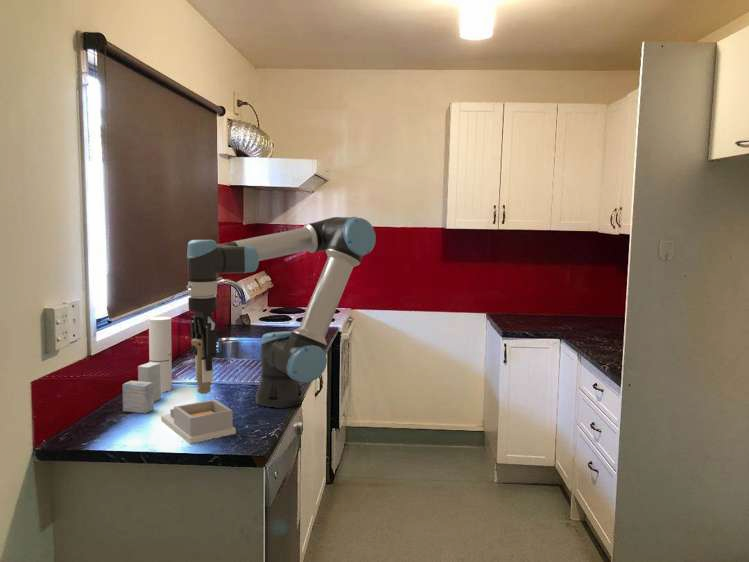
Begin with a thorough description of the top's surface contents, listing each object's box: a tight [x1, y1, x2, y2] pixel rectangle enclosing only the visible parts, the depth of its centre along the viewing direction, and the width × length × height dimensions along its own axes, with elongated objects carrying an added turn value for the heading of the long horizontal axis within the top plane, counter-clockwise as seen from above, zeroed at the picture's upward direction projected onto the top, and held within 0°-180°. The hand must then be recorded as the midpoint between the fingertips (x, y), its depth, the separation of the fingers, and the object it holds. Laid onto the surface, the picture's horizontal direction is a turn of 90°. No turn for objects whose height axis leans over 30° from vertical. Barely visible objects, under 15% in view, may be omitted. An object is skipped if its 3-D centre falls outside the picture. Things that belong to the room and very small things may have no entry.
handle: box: [190, 338, 212, 395], centre depth 162 cm, size 5×6×15 cm
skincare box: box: [137, 361, 162, 402], centre depth 189 cm, size 6×4×12 cm
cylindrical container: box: [148, 316, 173, 393], centre depth 201 cm, size 7×7×25 cm
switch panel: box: [160, 399, 237, 445], centre depth 167 cm, size 13×22×6 cm, turn 39°
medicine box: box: [122, 380, 155, 414], centre depth 179 cm, size 8×4×9 cm, turn 77°
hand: (204, 379), depth 163 cm, fingers closed on handle, 4 cm apart
